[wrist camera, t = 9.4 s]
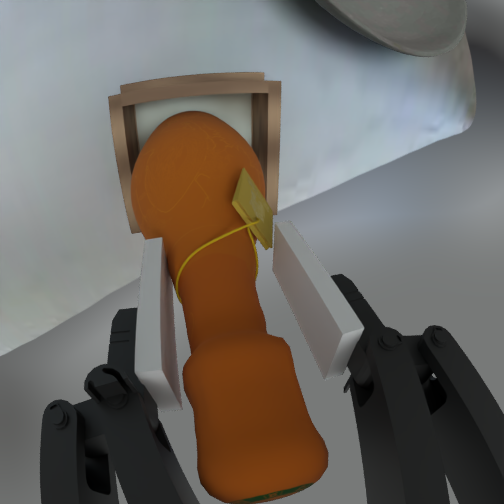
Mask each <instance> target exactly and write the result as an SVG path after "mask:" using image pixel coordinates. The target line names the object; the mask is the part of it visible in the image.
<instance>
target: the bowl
mask: <svg viewBox="0 0 504 504" xmlns="http://www.w3.org/2000/svg"><path fill="white" fill-rule="evenodd" d="M315 1H316V2H317V3H318V4H319V5H320V6H321V7H323V8H324V9H325V10H326V11H327V12H329V13H330V14H331V15H332V16H334V17H335V18H336V19H338V20H339V21H340V22H342V23H343V24H345V25H346V26H348V27H349V28H351V29H352V30H354V31H356V32H357V33H359V34H361V35H363V36H364V37H366V38H368V39H370V40H372V41H374V42H376V43H378V44H380V45H382V46H385V47H387V48H390V49H392V50H394V51H397V52H400V53H403V54H407V55H413V56H419V57H432V56H438V55H442V54H445V53H447V52H449V51H450V50H452V49H453V48H454V47H455V46H456V45H457V44H458V43H459V42H460V40H461V38H462V36H463V34H464V31H465V27H466V21H467V4H466V0H315Z"/></svg>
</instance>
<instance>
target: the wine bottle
mask: <svg viewBox="0 0 504 504" xmlns="http://www.w3.org/2000/svg"><path fill="white" fill-rule="evenodd" d="M131 202H132V208H133V212H134V215H135V218H136V221H137V223H138V226H139V228H140V230H141V232H142V234H143V235H144V237H145V239H146V240H147V239H153V238H160V237H162V239H163V244H164V249H165V253H166V258H167V263H168V271H169V274H170V277H171V279H172V282H173V285H174V288H175V291H176V294H177V297H178V299H179V301H180V303H181V304H182V306H183V311H184V317H185V322H186V328H187V335H188V340H189V344H190V349H191V356H190V357H189V359H188V360H187V362H186V363H185V365H184V367H183V373H182V375H183V383H184V391H185V393H186V395H187V397H188V400H189V402H190V404H191V406H192V408H193V411H194V422H195V433H196V439H197V457H198V458H197V470H198V474H199V479H200V483H201V485H202V486H203V487H204V488H205V490H206V491H207V492H208V494H209V495H211V496H213V497H214V498H216V499H218V500H220V501H222V502H224V503H230V504H256V503H262V502H268V501H272V500H276V499H280V498H283V497H287V496H290V495H292V494H295V493H297V492H300V491H302V490H304V489H306V488H308V487H310V486H311V485H313V484H314V483H315V482H317V481H318V480H319V479H320V478H321V476H322V475H323V473H324V472H325V470H326V469H327V467H328V450H327V448H326V445H325V442H324V440H323V438H322V437H321V436H320V434H319V433H318V431H317V430H316V428H315V427H314V425H313V423H312V421H311V418H310V416H309V414H308V411H307V408H306V405H305V402H304V398H303V395H302V392H301V389H300V386H299V383H298V380H297V376H296V373H295V368H294V363H293V358H292V355H291V351H290V347H289V346H288V344H287V343H286V342H285V340H284V339H283V338H281V337H276V336H272V335H269V334H267V331H266V322H265V317H264V314H263V311H262V309H261V307H260V303H259V299H258V295H257V291H256V287H255V281H256V277H257V274H258V257H257V251H256V247H255V244H256V240H257V239H258V240H259V241H260V243H261V244H262V245H263V247H264V248H265V250H267V249H268V248H269V247H270V248H272V233H273V229H272V228H273V227H272V225H273V211H272V209H271V208H270V206H269V205H268V203H267V202H266V200H265V181H264V175H263V171H262V168H261V165H260V162H259V160H258V158H257V156H256V154H255V152H254V151H253V149H252V147H251V146H250V145H249V144H248V142H247V141H246V140H245V139H244V138H243V137H242V136H241V135H240V134H239V133H238V132H237V131H236V130H235V129H233V128H232V127H231V126H230V125H228V124H227V123H226V122H224V121H223V120H221V119H219V118H218V117H216V116H214V115H212V114H209V113H206V112H201V111H185V112H181V113H178V114H175V115H173V116H171V117H169V118H167V119H166V120H164V121H163V122H162V123H161V124H160V125H159V126H158V127H157V128H156V129H155V130H154V131H153V133H152V134H151V135H150V137H149V138H148V140H147V141H146V143H145V145H144V146H143V148H142V150H141V152H140V154H139V156H138V158H137V161H136V163H135V166H134V169H133V173H132V178H131Z"/></svg>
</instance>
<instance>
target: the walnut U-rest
mask: <svg viewBox="0 0 504 504" xmlns="http://www.w3.org/2000/svg"><path fill="white" fill-rule="evenodd" d="M120 89H121V94H118V95H114V96H109V97H108V99H109V109H110V119H111V127H112V134H113V142H114V148H115V155H116V161H117V167H118V173H119V178H120V183H121V188H122V193H123V198H124V203H125V207H126V212H127V216H128V221H129V225H130V229H131V233H132V234H133V233H140V232H141V230H140V228H139V226H138V223H137V221H136V218H135V215H134V212H133V208H132V202H131V178H132V173H133V169H134V166H135V163H136V161H137V158H138V156H139V154H140V152H141V150H142V148H143V146H144V145H145V143H146V141H147V140H148V138H149V137H150V135H151V134H152V133H153V131H154V130H155V129H156V128H157V127H158V126H159V125H160V124H161V123H162V122H163V121H164V120H166V119H167V118H169V117H171V116H173V115H175V114H178V113H181V112H185V111H201V112H206V113H209V114H212V115H214V116H216V117H218V118H219V119H221V120H223V121H224V122H226V123H227V124H228V125H230V126H231V127H232V128H233V129H235V130H236V131H237V132H238V133H239V134H240V135H241V136H242V137H243V138H244V139H245V140H246V141H247V142H248V144H249V145H250V146H251V147H252V149H253V151H254V152H255V154H256V156H257V158H258V160H259V162H260V165H261V168H262V171H263V175H264V181H265V200H266V202H267V203H268V205H269V206H270V208H271V209H272V211H273V215H277V204H278V180H279V152H280V118H281V81H264V73H259V72H237V73H211V74H197V75H186V76H176V77H168V78H161V79H154V80H148V81H142V82H136V83H131V84H126V85H121V86H120Z"/></svg>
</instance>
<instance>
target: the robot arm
mask: <svg viewBox="0 0 504 504" xmlns="http://www.w3.org/2000/svg"><path fill="white" fill-rule="evenodd" d="M273 272H274V274H275V276H276V278H277V280H278V282H279V284H280V286H281V288H282V291H283V293H284V295H285V297H286V299H287V301H288V303H289V305H290V307H291V309H292V312H293V314H294V316H295V318H296V320H297V322H298V324H299V326H300V329H301V331H302V333H303V335H304V337H305V339H306V341H307V344H308V345H309V348H310V350H311V352H312V354H313V356H314V358H315V361H316V363H317V365H318V367H319V369H320V371H321V373H322V376H323V378H324V380H326V379H330V378H333V377H336V376H339V375H342V374H343V373H344V371H345V369H346V367H348V368H349V370H350V372H351V375H350V377H349V379H348V381H347V383H346V385H345V386H344V393H346V392H347V391H348V389H349V388H350V391H351V396H352V401H353V407H354V412H355V418H356V423H357V429H358V435H359V442H360V448H361V455H362V462H363V470H364V478H365V486H366V495H367V504H450V501H449V494H448V488H447V483H446V477H445V474H446V476H447V478H448V481H449V482H450V485H451V487H452V489H453V491H454V494H455V496H456V498H457V500H458V503H459V504H504V414H503V412H502V411H501V409H500V407H499V405H498V404H497V402H496V400H495V399H494V397H493V395H492V394H491V392H490V390H489V389H488V387H487V386H486V384H485V383H484V381H483V380H482V378H481V376H480V375H479V373H478V372H477V370H476V369H475V368H474V366H473V365H472V363H471V362H470V360H469V359H468V357H467V356H466V354H465V353H464V352H463V350H462V349H461V348H460V346H459V345H458V343H457V342H456V341H455V339H454V338H453V337H452V336H451V334H450V333H449V332H448V331H447V330H446V329H445V328H443V327H441V326H436V325H433V326H429V327H428V328H427V329H425V331H424V333H423V335H417V336H416V335H415V336H402V335H401V334H400V333H399V332H398V331H397V330H395V329H392V328H389V327H385V326H384V325H383V324H382V322H381V321H380V319H379V318H378V317H377V315H376V314H375V312H374V311H373V310H372V308H371V307H370V305H369V304H368V302H367V301H366V300H365V299H364V297H363V296H362V294H361V293H360V292H359V291H358V289H357V287H356V286H355V285H354V283H353V282H352V281H351V280H350V279H348V278H347V277H345V276H344V275H342V274H338V275H333V276H330V275H329V274H328V272H327V271H326V269H325V268H324V267H323V265H322V264H321V262H320V261H319V259H318V258H317V257H316V255H315V254H314V252H313V251H312V250H311V248H310V247H309V245H308V244H307V243H306V241H305V240H304V238H303V237H302V236H301V234H300V233H299V232H298V230H297V229H296V228H295V226H294V225H293V223H292V222H291V221H285V222H276V223H275V233H274V253H273ZM433 373H434V374H435V376H436V377H437V378H434V377H433V376H432V374H433ZM84 390H85V391H86V392H87V393H88V394H89V395H90V397H91V399H90V400H87V401H84V402H81V403H78V404H75V405H72V404H70V403H69V402H68V401H65V400H55V401H53V402H51V403H50V404H49V405H48V406H47V407H46V409H45V411H44V414H43V419H42V431H41V447H40V488H41V503H42V504H119V500H118V492H117V484H116V476H115V471H116V474H117V477H118V479H119V482H120V485H121V487H122V490H123V493H124V495H125V498H126V500H127V503H128V504H200V503H199V501H198V500H197V498H196V496H195V494H194V492H193V490H192V488H191V487H190V485H189V483H188V481H187V479H186V477H185V475H184V473H183V471H182V469H181V467H180V465H179V462H178V460H177V458H176V456H175V454H174V451H173V449H172V447H171V445H170V442H169V440H168V438H167V435H166V433H165V430H164V428H163V425H162V423H161V422H160V420H159V419H158V409H157V407H158V408H159V409H160V411H161V412H165V411H176V410H182V401H181V393H180V384H179V375H178V365H177V354H176V342H175V327H174V310H173V285H172V280H171V277H170V274H169V271H168V263H167V258H166V253H165V249H164V244H163V239H162V237H160V238H153V239H147V240H145V246H144V254H143V261H142V269H141V278H140V287H139V298H138V307H137V308H129V309H120V310H119V311H118V312H117V314H116V316H115V317H114V319H113V321H112V328H111V335H110V344H109V352H108V362H107V364H103V365H100V366H98V367H96V368H94V369H93V370H92V371H91V372H90V373H89V374H88V375H87V378H86V380H85V383H84Z"/></svg>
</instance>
